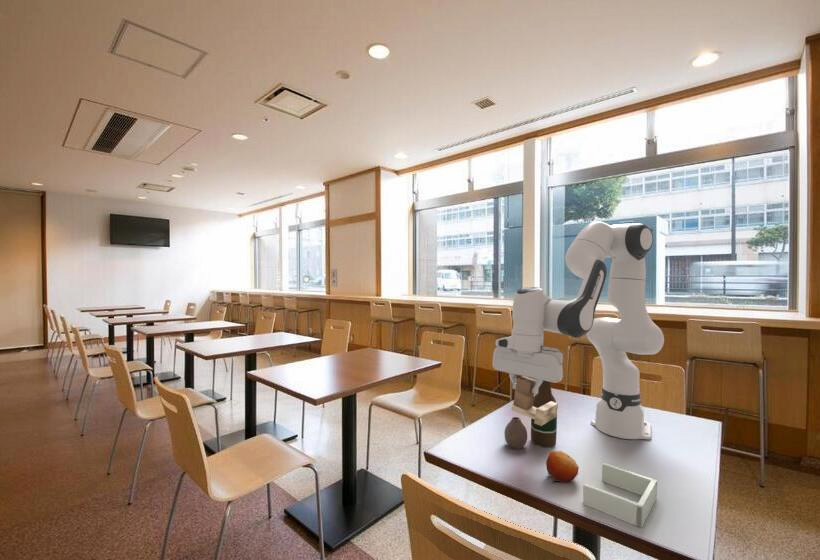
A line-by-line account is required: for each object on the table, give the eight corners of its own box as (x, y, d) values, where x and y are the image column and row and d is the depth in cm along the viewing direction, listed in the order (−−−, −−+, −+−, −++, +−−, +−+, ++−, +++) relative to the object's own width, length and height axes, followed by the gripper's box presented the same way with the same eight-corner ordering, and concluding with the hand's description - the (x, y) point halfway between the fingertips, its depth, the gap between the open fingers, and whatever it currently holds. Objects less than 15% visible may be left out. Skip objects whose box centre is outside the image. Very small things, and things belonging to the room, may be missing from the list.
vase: (528, 452, 115) (528, 423, 115) (504, 449, 117) (505, 421, 117) (525, 442, 122) (526, 415, 122) (503, 440, 124) (504, 413, 123)
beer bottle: (555, 439, 125) (557, 366, 125) (556, 449, 118) (558, 372, 117) (530, 435, 128) (532, 364, 127) (530, 445, 120) (532, 369, 120)
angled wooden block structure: (523, 404, 115) (527, 374, 115) (556, 417, 109) (560, 384, 108) (507, 412, 108) (511, 379, 107) (541, 426, 101) (546, 391, 101)
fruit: (533, 466, 104) (549, 441, 104) (557, 480, 105) (572, 455, 105) (547, 482, 96) (563, 455, 96) (572, 497, 97) (588, 470, 97)
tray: (603, 479, 101) (603, 462, 101) (656, 498, 92) (656, 480, 92) (583, 503, 90) (583, 484, 90) (641, 527, 82) (642, 507, 81)
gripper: (567, 347, 105) (565, 397, 105) (501, 337, 119) (499, 381, 119) (558, 350, 101) (556, 402, 101) (490, 339, 114) (488, 385, 114)
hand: (525, 391), depth 110 cm, fingers closed on angled wooden block structure, 4 cm apart
